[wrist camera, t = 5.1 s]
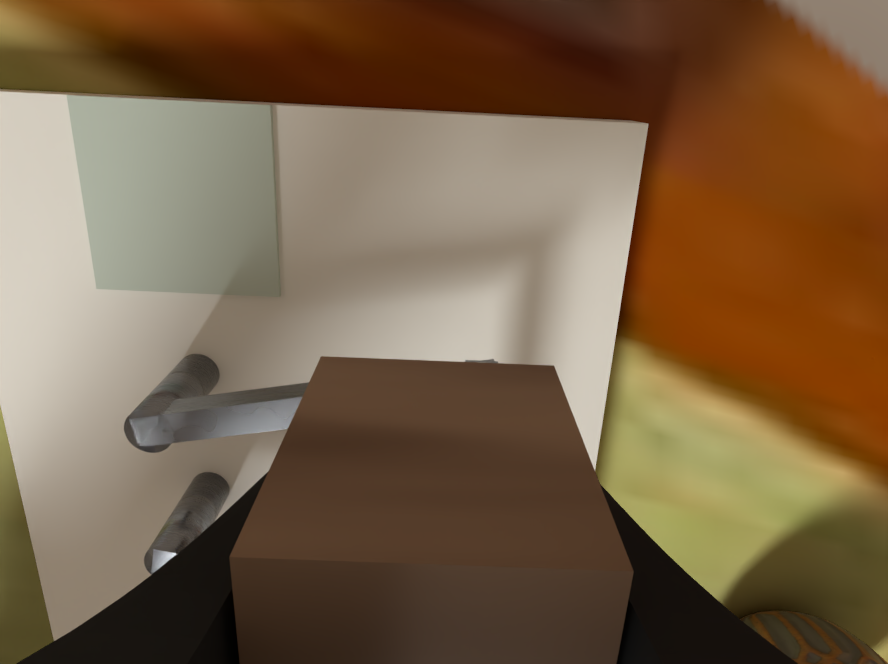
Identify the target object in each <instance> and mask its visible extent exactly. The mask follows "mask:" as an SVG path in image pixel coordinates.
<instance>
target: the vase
mask: <svg viewBox="0 0 888 664" xmlns="http://www.w3.org/2000/svg"><path fill="white" fill-rule="evenodd" d="M740 620H741V621H743V622H744V623H745V624H747V625H748V626H749V627H750V628H752V629H753V630H754V631H756V632H757V633H758V634H760V635H761V636H762V637H763V638H765V639H766V640H767V641H769V642H770V643H771V644H772V645H774V646H775V647H776V648H778V649H779V650H780V651H782V652H783V653H784V654H786V655H787V656H788V657H790V658H791V659H792V660H794V661H795V662H797V663H798V664H888V663H887V662H886V661H885V660H884V659H883V658H882V657H881V656H879V655H878V654H877V653H876V652H875V651H874V650H873V649H871V648H870V647H869V646H868V645H867V644H865V643H864V642H862V641H861V640H860V639H858V638H857V637H856V636H854V635H853V634H851V633H850V632H848V631H846V630H844V629H843V628H841V627H839V626H837V625H836V624H834V623H832V622H830V621H827V620H824V619H822V618H818V617H815V616H812V615H809V614H805V613H799V612H791V611H764V612H758V613H754V614H751V615H748V616H745V617H743V618H741V619H740Z"/></svg>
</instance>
